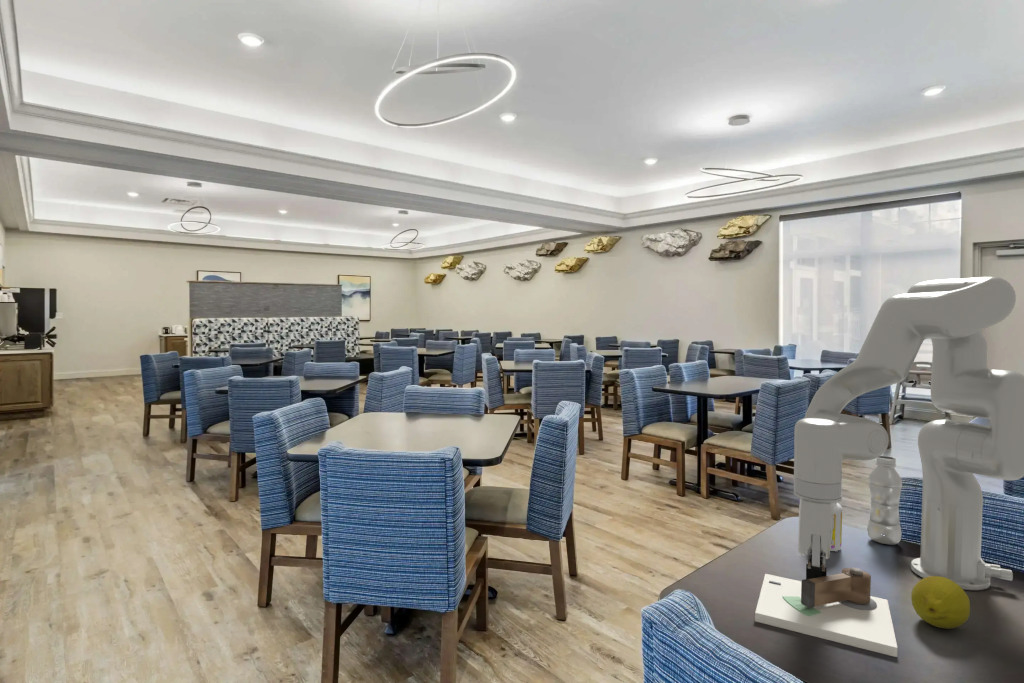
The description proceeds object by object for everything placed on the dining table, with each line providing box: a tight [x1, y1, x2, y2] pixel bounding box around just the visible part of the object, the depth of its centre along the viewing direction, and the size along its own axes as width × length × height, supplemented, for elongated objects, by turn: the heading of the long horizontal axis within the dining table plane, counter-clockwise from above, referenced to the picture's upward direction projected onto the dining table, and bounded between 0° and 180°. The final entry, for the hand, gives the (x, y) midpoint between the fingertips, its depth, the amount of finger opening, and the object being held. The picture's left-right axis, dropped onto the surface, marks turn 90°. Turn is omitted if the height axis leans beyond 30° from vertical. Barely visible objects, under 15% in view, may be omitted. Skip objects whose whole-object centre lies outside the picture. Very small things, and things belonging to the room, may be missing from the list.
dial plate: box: [754, 573, 898, 658], centre depth 97 cm, size 20×17×2 cm
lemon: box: [910, 576, 971, 630], centre depth 93 cm, size 11×8×8 cm
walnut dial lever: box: [801, 567, 872, 608], centre depth 97 cm, size 14×4×5 cm, turn 108°
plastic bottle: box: [866, 455, 903, 545], centre depth 128 cm, size 6×7×20 cm
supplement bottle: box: [830, 502, 843, 552], centre depth 126 cm, size 7×7×13 cm
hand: (816, 588), depth 99 cm, fingers closed
